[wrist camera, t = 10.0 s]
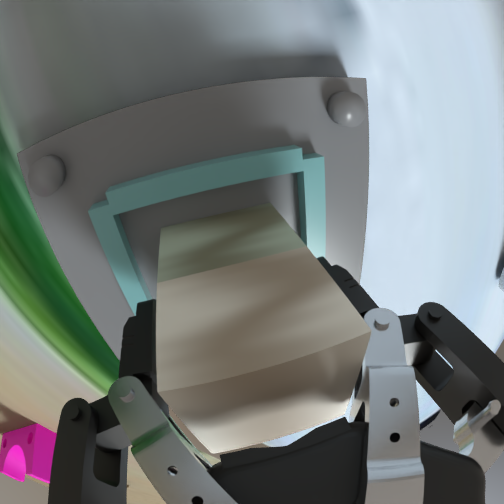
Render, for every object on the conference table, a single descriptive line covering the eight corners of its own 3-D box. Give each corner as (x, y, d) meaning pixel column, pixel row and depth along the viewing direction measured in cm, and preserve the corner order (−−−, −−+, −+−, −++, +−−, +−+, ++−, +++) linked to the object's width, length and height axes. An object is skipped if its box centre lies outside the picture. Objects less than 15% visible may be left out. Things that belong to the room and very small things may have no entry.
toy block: (33, 449, 25) (31, 486, 19) (3, 432, 21) (-2, 471, 15) (76, 441, 24) (75, 490, 18) (37, 421, 21) (31, 474, 14)
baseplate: (349, 78, 12) (376, 78, 10) (343, 310, 20) (358, 331, 18) (31, 147, 9) (8, 158, 7) (136, 365, 18) (136, 391, 16)
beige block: (270, 202, 13) (372, 330, 6) (278, 287, 15) (344, 414, 9) (160, 228, 12) (157, 391, 5) (188, 310, 15) (212, 453, 8)
